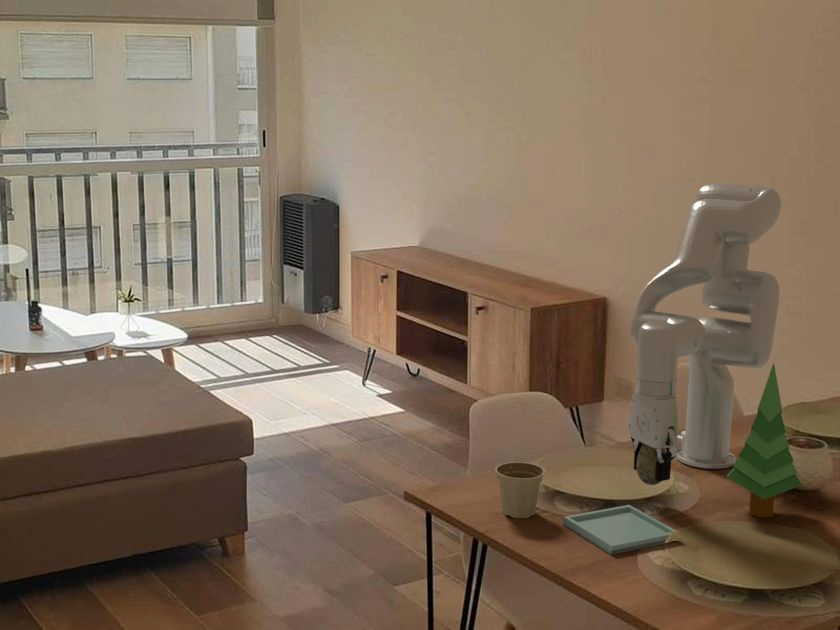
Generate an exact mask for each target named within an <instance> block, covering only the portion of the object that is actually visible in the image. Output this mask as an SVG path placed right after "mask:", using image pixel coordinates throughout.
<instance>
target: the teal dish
mask: <svg viewBox="0 0 840 630" xmlns="http://www.w3.org/2000/svg"><path fill="white" fill-rule="evenodd" d="M562 525H563V526H564V527H566V528H568V529H569V530H571V531H572V532H574V533H576V534H577V535H579V536H581V537H582V538H584V539H585V540H587V541H589V542H590V543H591V544H593V545H595V546H597V547H598V548H600V550H601V549H602V550H603V551H604V552H606V553H608V554H609V555H610V556H611V555H617V554H621V553H626V552H631V551H635V550H641V549H645V548H650V547H656V545H657V546H661V545H660V544H662V545H664V544H663V543H665V541H666V539H667V538H668V537H669V535H670V534H671V533H672V532H675V531H677V530H676V529H674V528H673V527H670V526H668V525H667V524H665V523H663V522H661V521H659V520H658V519H655V518H654V517H652V516H651V515H648V514H647V513H645V512H643V511H641V510H639V509H638V508H636V507H634V506H633V505H631V504H626V505H622V506H621V505H620V506H615V507H610V508H604V509H599V510H593V511H589V512H582V513H577V514H572V515H567V516H563V522H562Z"/></svg>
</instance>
